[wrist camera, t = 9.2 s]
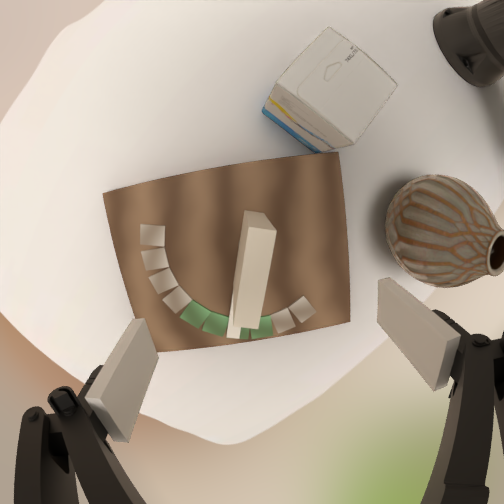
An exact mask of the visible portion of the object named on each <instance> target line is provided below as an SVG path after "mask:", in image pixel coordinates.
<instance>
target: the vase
mask: <svg viewBox="0 0 504 504" xmlns="http://www.w3.org/2000/svg"><path fill="white" fill-rule="evenodd" d="M385 233H386V239H387V243H388V246H389V249H390V251H391V253H392V255H393V257H394V258H395V260H396V262H397V263H398V264H399V265H400V267H401V268H402V269H403V270H404V271H405V272H407V273H408V274H409V275H411V276H412V277H413V278H415V279H417V280H418V281H421V282H423V283H425V284H427V285H430V286H434V287H443V288H450V287H458V286H462V285H465V284H468V283H470V282H472V281H474V280H476V279H478V278H480V277H482V276H484V275H491V276H498V275H499V274H501V273H502V272H503V270H504V230H503V229H502V228H501V227H500V226H499V225H498V223H497V221H496V219H495V217H494V215H493V213H492V211H491V209H490V207H489V206H488V204H487V203H486V201H485V200H484V199H483V197H482V196H481V195H480V194H479V193H478V192H477V191H476V190H475V189H473V188H472V187H471V186H469V185H468V184H467V183H465V182H463V181H461V180H459V179H457V178H454V177H450V176H445V175H425V176H421V177H418V178H415V179H413V180H411V181H410V182H408V183H407V184H405V185H404V186H403V187H402V188H401V189H399V191H398V192H397V193H396V194H395V196H394V197H393V199H392V201H391V203H390V205H389V208H388V211H387V215H386V221H385Z"/></svg>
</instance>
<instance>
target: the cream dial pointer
mask: <svg viewBox="0 0 504 504" xmlns="http://www.w3.org/2000/svg"><path fill="white" fill-rule="evenodd" d="M276 233H277V231H276V229H275V228H274V226H273V225H272V224H271V222H270V221H269V219H268V218H267V217H266V215H265V214H264V213H260V212H254V211H247V210H245V211H244V217H243V223H242V230H241V236H240V240H239V243H238V246H239V249H238V256H237V262H236V269H235V276H234V282H233V294H232V301H231V308H230V315H229V322H228V329H227V338H236V339H239V337H240V331H241V327H242V328H251V329H258V327H259V322H260V317H261V312H262V307H263V302H264V297H265V292H266V286H267V281H268V276H269V270H270V265H271V260H272V254H273V249H274V244H275V238H276Z"/></svg>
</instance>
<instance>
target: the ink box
mask: <svg viewBox="0 0 504 504" xmlns="http://www.w3.org/2000/svg"><path fill="white" fill-rule="evenodd" d="M397 86H398V85H397V83H396V82H395V81H394V80H393V79H392V78H391V77H390V76H389V75H388V74H387V73H386V72H385V71H384V70H383V69H382V68H381V67H380V66H379V65H378V64H377V63H376V62H374V61H373V60H372V59H371V58H370V57H369V56H368V55H367V54H365V53H364V52H363V51H362V50H360V49H359V48H358V47H357V46H355V45H354V44H353V43H352V42H350V41H349V40H348V39H346V38H345V37H344V36H342V35H341V34H339V33H338V32H337V31H335V30H334V29H332V28H331V27H327V28H326V29H325V30H324V31H323V32H322V33H321V34H320V35H319V36H318V37H317V38H316V39H315V40H314V41H313V42H312V43H311V44H310V45H309V46H308V47H307V48H306V49H305V50H304V51H303V52H302V53H301V55H300V56H299V57H298V58H297V59H296V60H295V61H294V62H293V63H292V64H291V65H290V66H289V67H288V68H287V70H286V71H285V72H284V73H283V74H282V75H281V77H280V78H279V79H278V80H277V82H276V84H275V86H274V88H273V89H272V91H271V94H270V96H269V97H268V100H267V102H266V104H265V106H264V107H263V110H262V112H263V114H265V115H266V116H267V117H269V118H270V119H271V120H273V121H274V122H275V123H277V124H278V125H279V126H280V127H282V128H283V129H284V130H286V131H287V132H288V133H289V134H291V135H292V136H293V137H295V138H296V139H297V140H299V141H300V142H301V143H302V144H304V145H305V146H306V147H308V148H309V149H310V150H312V151H313V152H315V153H320V152H324V151H328V150H332V149H336V148H341V147H345V146H349V145H354V144H355V143H356V141H357V140H358V139H359V137H360V136H361V135H362V133H363V132H364V131H365V129H366V128H367V127H368V125H369V124H370V123H371V121H372V120H373V119H374V117H375V116H376V115H377V113H378V112H379V111H380V109H381V108H382V107H383V105H384V104H385V103H386V101H387V100H388V99H389V97H390V96H391V94H392V93H393V92H394V90H395V89H396V87H397Z"/></svg>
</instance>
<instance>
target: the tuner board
mask: <svg viewBox="0 0 504 504" xmlns="http://www.w3.org/2000/svg"><path fill="white" fill-rule="evenodd" d="M103 198H104V204H105V209H106V213H107V218H108V223H109V227H110V232H111V236H112V240H113V244H114V248H115V252H116V256H117V260H118V263H119V267H120V271H121V274H122V278H123V281H124V284H125V288H126V291H127V294H128V297H129V300H130V304H131V307H132V310H133V313H134V316H135V319H140V318H145V321H146V324H147V327H148V329H149V332H150V335H151V338H152V341H153V343H154V346H155V349H156V351H157V352H168V351H178V350H188V349H197V348H206V347H214V346H222V345H229V344H236V343H243V342H249V341H256V340H262V339H268V338H274V337H279V336H285V335H290V334H295V333H300V332H305V331H310V330H315V329H320V328H325V327H329V326H334V325H338V324H342V323H347V322H350V277H349V255H348V239H347V226H346V214H345V203H344V193H343V185H342V176H341V168H340V161H339V154H338V152H331V153H320V154H309V155H300V156H291V157H283V158H275V159H268V160H260V161H253V162H247V163H240V164H234V165H228V166H222V167H217V168H211V169H206V170H200V171H195V172H190V173H185V174H180V175H176V176H171V177H166V178H162V179H157V180H153V181H149V182H145V183H140V184H136V185H132V186H128V187H124V188H121V189H117V190H113V191H109V192H106V193H103ZM245 210H247V211H254V212H260V213H264V214H265V215H266V217H267V218H268V219H269V221H270V222H271V224H272V225H273V226H274V228H275V229H276V231H277V233H276V238H275V244H274V249H273V254H272V260H271V265H270V270H269V276H268V281H267V286H266V292H265V297H264V302H263V307H262V312H261V317H260V322H259V327H258V329H251V328H242V327H241V331H240V337H239V339H236V338H227V329H228V322H229V315H230V308H231V301H232V294H233V282H234V276H235V269H236V262H237V256H238V249H239V246H238V243H239V240H240V236H241V230H242V223H243V217H244V211H245Z"/></svg>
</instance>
